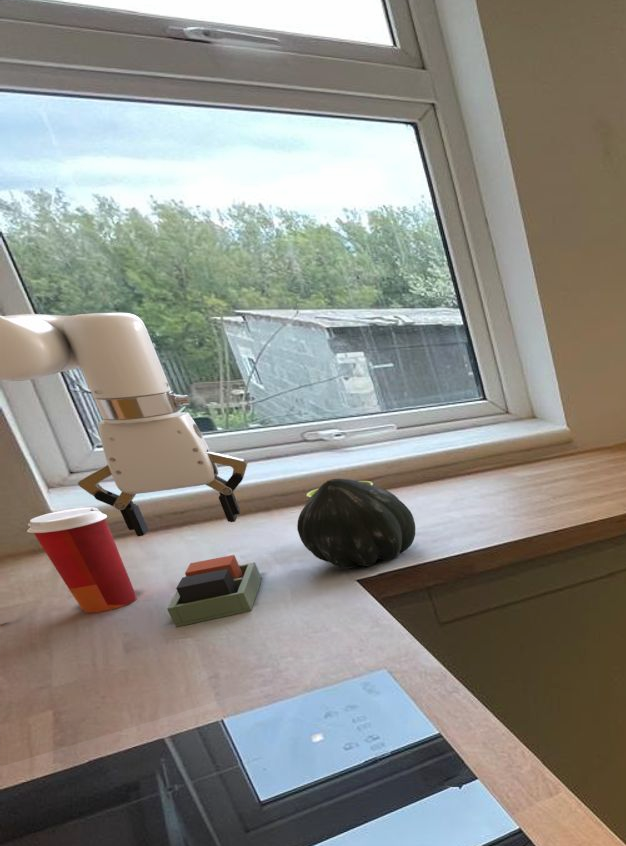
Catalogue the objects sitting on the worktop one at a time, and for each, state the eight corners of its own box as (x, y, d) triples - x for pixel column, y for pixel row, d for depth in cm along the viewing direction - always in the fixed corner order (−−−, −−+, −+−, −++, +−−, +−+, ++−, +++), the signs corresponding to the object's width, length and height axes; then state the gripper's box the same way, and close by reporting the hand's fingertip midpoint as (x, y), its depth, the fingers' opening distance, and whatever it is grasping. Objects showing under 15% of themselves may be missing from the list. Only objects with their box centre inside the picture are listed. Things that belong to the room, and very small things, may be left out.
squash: (396, 504, 142) (309, 456, 129) (449, 517, 136) (363, 468, 123) (348, 576, 137) (252, 533, 124) (401, 592, 131) (306, 549, 118)
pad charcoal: (190, 617, 113) (175, 588, 111) (195, 606, 116) (182, 577, 115) (236, 607, 115) (223, 578, 113) (241, 596, 119) (228, 568, 117)
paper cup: (146, 589, 124) (103, 502, 119) (146, 603, 119) (101, 513, 114) (73, 606, 119) (25, 515, 114) (69, 621, 114) (19, 527, 109)
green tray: (175, 627, 111) (166, 608, 110) (193, 592, 122) (185, 575, 121) (251, 610, 115) (243, 592, 114) (262, 578, 126) (254, 562, 125)
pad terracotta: (197, 601, 118) (184, 572, 116) (203, 590, 122) (190, 563, 120) (242, 592, 121) (230, 564, 119) (246, 581, 124) (234, 554, 123)
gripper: (226, 396, 118) (269, 508, 124) (56, 412, 109) (111, 532, 115) (219, 404, 112) (264, 521, 119) (39, 420, 103) (98, 546, 109)
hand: (189, 526), depth 117 cm, fingers open, 9 cm apart
